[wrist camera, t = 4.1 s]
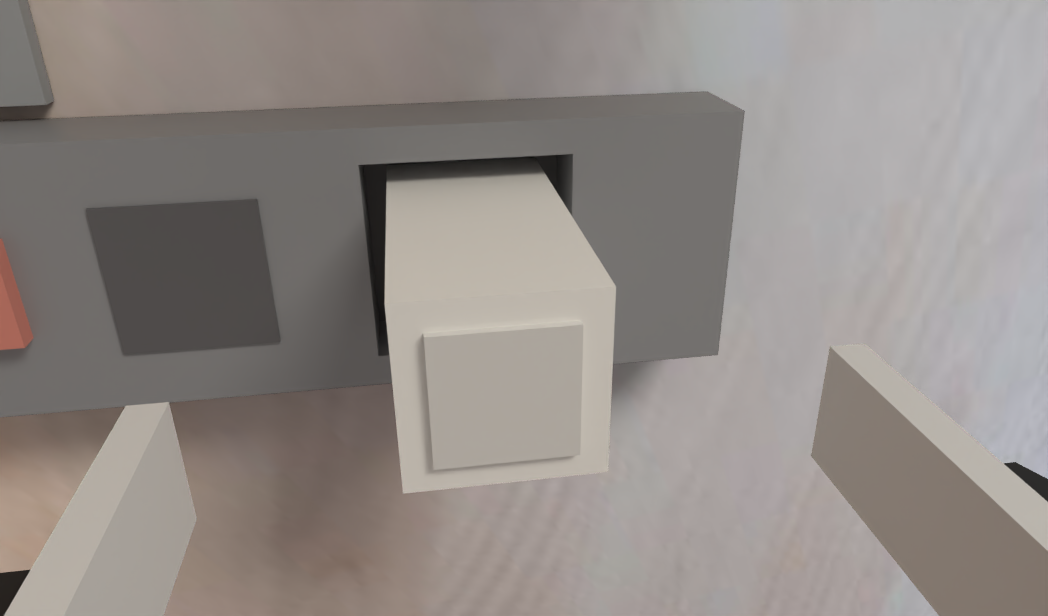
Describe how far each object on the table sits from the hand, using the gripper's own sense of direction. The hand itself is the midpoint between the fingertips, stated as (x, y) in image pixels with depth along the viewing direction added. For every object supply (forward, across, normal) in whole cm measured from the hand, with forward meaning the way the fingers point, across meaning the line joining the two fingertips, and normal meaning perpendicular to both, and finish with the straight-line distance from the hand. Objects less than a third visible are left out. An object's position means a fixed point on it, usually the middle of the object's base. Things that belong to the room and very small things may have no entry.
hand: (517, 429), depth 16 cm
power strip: (+12, -4, 0) cm, 12 cm away
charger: (+11, 0, 0) cm, 11 cm away
